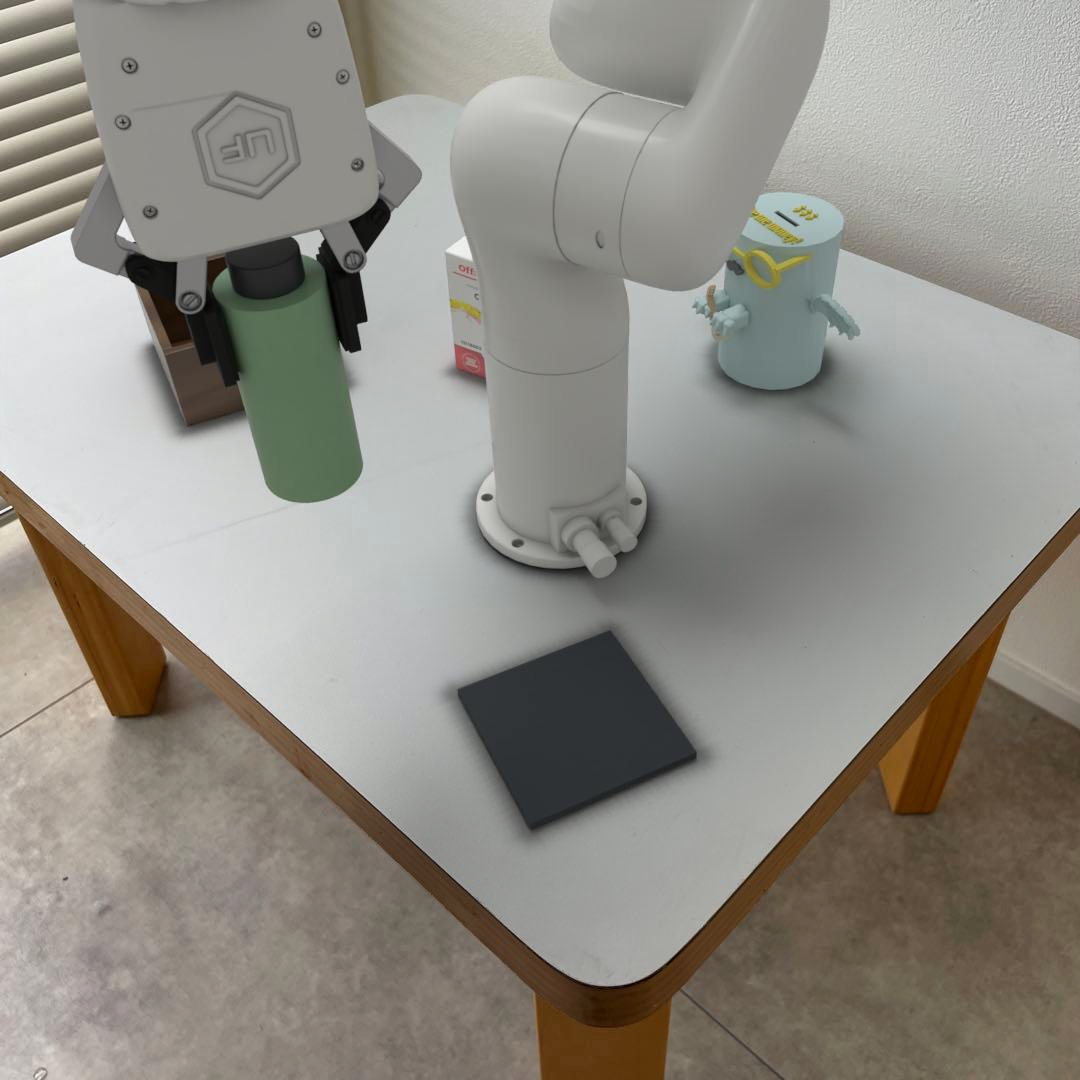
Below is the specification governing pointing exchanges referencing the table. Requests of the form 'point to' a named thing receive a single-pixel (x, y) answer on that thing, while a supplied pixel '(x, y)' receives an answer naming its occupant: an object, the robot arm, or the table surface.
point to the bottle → (290, 370)
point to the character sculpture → (779, 293)
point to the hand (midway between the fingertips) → (286, 350)
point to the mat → (574, 727)
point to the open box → (188, 357)
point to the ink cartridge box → (465, 309)
